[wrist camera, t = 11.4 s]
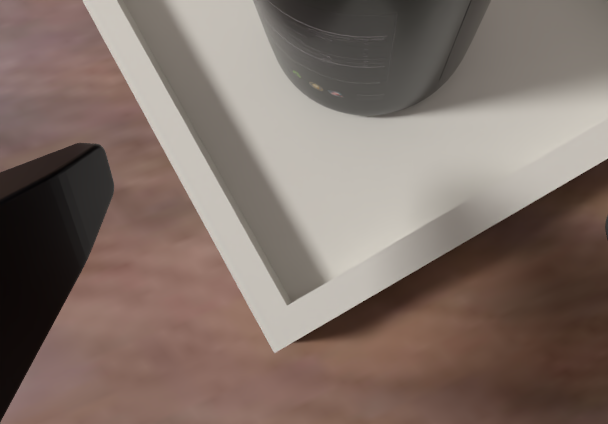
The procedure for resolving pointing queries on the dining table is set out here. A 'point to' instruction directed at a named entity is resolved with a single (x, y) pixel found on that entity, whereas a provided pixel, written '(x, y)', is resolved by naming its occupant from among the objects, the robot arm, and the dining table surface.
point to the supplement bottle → (370, 48)
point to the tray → (358, 145)
